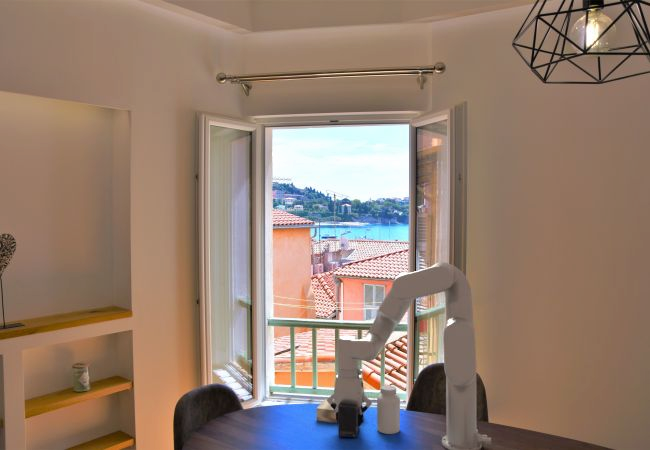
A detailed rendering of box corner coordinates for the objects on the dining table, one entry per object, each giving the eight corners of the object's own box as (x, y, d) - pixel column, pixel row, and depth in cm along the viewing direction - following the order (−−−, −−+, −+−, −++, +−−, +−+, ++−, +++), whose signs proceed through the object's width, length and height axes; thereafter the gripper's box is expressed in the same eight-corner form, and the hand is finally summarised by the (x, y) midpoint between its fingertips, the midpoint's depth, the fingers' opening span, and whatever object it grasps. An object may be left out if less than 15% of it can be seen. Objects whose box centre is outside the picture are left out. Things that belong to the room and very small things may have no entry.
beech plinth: (349, 413, 196) (349, 401, 196) (342, 423, 186) (342, 411, 186) (324, 410, 199) (324, 399, 199) (316, 420, 189) (316, 408, 189)
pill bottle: (397, 436, 175) (397, 392, 175) (374, 433, 177) (374, 389, 177) (402, 427, 182) (401, 385, 182) (379, 424, 185) (379, 382, 185)
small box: (357, 438, 172) (356, 407, 172) (337, 437, 174) (337, 406, 173) (361, 425, 183) (360, 396, 182) (343, 424, 184) (342, 395, 184)
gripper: (375, 370, 179) (376, 421, 179) (327, 367, 184) (329, 417, 184) (370, 377, 172) (371, 430, 172) (321, 373, 177) (322, 425, 177)
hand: (349, 423), depth 178 cm, fingers closed on small box, 6 cm apart
